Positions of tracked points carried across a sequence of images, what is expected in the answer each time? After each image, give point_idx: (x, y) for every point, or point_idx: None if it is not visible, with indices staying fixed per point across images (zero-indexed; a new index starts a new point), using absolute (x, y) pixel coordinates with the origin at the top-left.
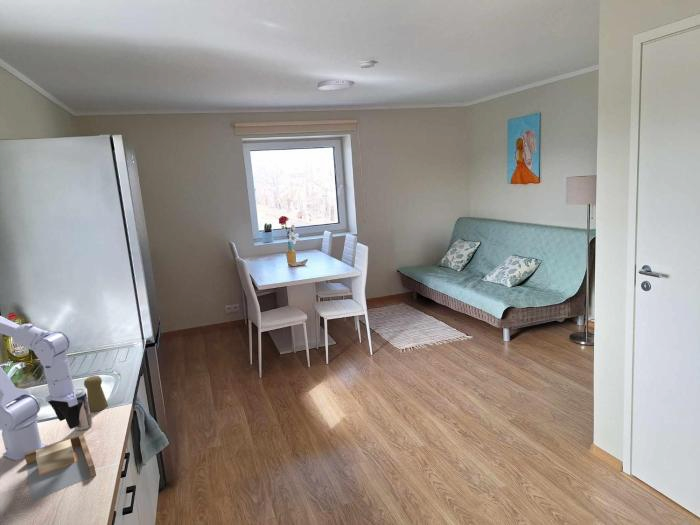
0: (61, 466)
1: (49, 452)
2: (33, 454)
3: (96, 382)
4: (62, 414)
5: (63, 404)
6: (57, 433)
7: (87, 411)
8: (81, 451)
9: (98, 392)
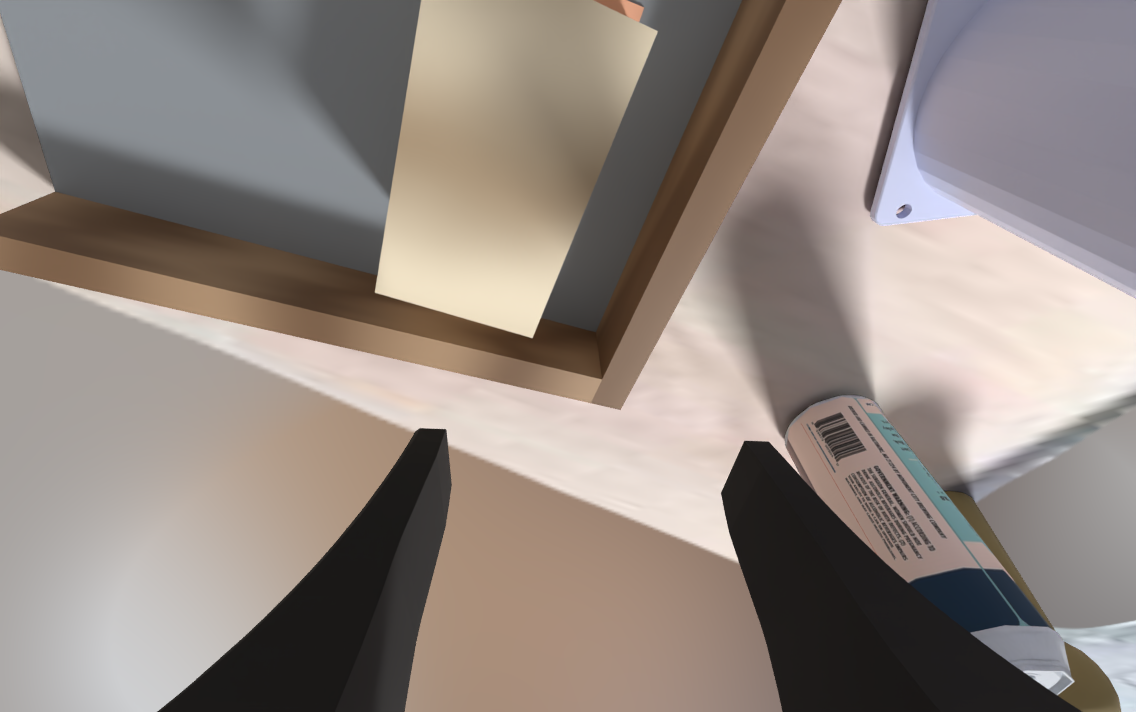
0: None
1: (436, 111)
2: (760, 30)
3: None
4: (757, 521)
5: (800, 669)
6: (967, 325)
7: None
8: None
9: None
